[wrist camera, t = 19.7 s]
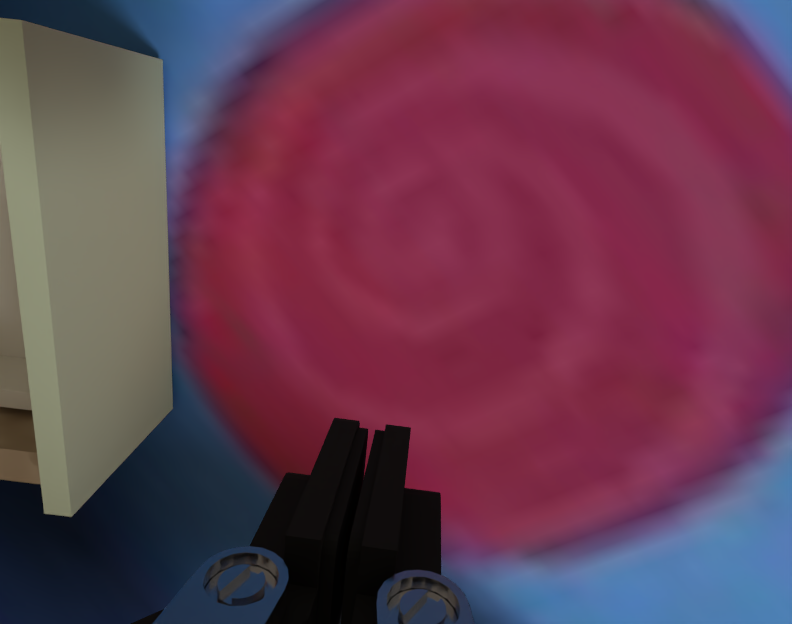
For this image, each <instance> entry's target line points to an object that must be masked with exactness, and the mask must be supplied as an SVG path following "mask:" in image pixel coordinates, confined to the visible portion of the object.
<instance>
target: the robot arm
mask: <svg viewBox="0 0 792 624" xmlns="http://www.w3.org/2000/svg"><path fill="white" fill-rule="evenodd" d="M359 424H360V423H359V421H355V420H347V419H339V418H334V420H333V422H332V424H331V427H330V429H329V432H328V434H327V436H326V439H325V441H324V444H323V446H322V448H321V451H320V453H319V456H318V458H317V461H316V463H315V465H314V468H313V470H312V473H311V475H303V474H296V473H286V475H285V476H284V478H283V480H282V482H281V484H280V486H279V488H278V490H277V492H276V494H275V496H274V498H273V500H272V502H271V504H270V506H269V508H268V510H267V512H266V514H265V516H264V518H263V520H262V522H261V524H260V526H259V528H258V530H257V532H256V534H255V536H254V538H253V540H252V542H251V544H250V546H244V547H234V548H231V549H227V550H224V551H221V552H219V553H217V554H215V555H214V556H212V557H210V558H209V559H207V560H206V561H205V562H204V563H203V564H202V565H201V566H200V567H199V568H198V569H197V570H196V572H195V573H194V574H193V575H192V576H191V578H190V579H189V580H188V581H187V583H186V584H185V585H184V586H183V587H182V589H181V590H180V591H179V592H178V593H177V595H176V596H175V597H174V598H173V599H172V601H171V602H170V603H169V604H168V605H167V607H166V608H165V609H163V610H161V611H159V612H156V613H154V614H152V615H150V616H147V617H145V618H143V619H140V620H138V621H136V622H133V623H131V624H340V622H341V624H474V621H473V617H472V613H471V609H470V605H469V603H468V601H467V598H466V596H465V594H464V593H463V592H462V590H461V589H460V588H459V587H458V586H457V585H456V584H455V583H453V582H452V581H450V580H449V579H448V578H446V577H444V576H442V575H441V495H440V493H438V492H431V491H423V490H416V489H408V488H404V486H405V477H406V468H407V458H408V449H409V440H410V430H411V428H409V427H402V426H394V425H386V428H385V431H381V430H375V434H374V439H373V443H372V447H371V451H370V455H369V459H368V464H367V468H366V472H365V476H364V469H365V459H366V449H367V438H368V429H365V428H359ZM363 479H364V480H363Z"/></svg>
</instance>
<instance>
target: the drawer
mask: <svg viewBox="0 0 792 624" xmlns="http://www.w3.org/2000/svg"><path fill="white" fill-rule="evenodd" d="M0 407H7V408H16V409H24V410H32V415H33V423H34V431H35V440H36V448H37V457H38V465H39V473H40V482H41V490H42V499H43V507H44V514H52V515H60V516H68V517H72V516H73V515H74V514H75V513H76V512H77V511H78V510H79V509H80V507H81V506H82V505H83V504H84V503H85V502H86V501H87V500H88V499H89V498H90V497H91V496H92V495H93V494H94V492H95V491H96V490H97V489H98V488H99V487H100V486H101V485H102V484H103V483H104V482H105V481H106V480H107V479H108V478H109V476H110V475H111V474H112V473H113V472H114V471H115V470H116V469H117V468H118V467H119V466H120V465H121V464H122V463H123V461H124V460H125V459H126V458H127V457H128V456H129V455H130V454H131V453H132V452H133V451H134V450H135V449H136V448H137V446H138V445H139V444H140V443H141V442H142V441H143V440H144V439H145V438H146V437H147V436H148V435H149V434H150V433H151V432H152V430H153V429H154V428H155V427H156V426H157V425H158V424H159V423H160V422H161V421H162V420H163V419H164V418H165V417H166V415H167V414H168V413H169V412H170V411H171V410H172V409H173V393H172V360H171V327H170V293H169V260H168V227H167V193H166V160H165V127H164V93H163V60H162V59H158V58H155V57H151V56H148V55H144V54H140V53H137V52H133V51H130V50H126V49H123V48H119V47H116V46H112V45H108V44H105V43H101V42H98V41H94V40H91V39H87V38H84V37H80V36H76V35H73V34H69V33H66V32H62V31H59V30H55V29H52V28H48V27H44V26H41V25H37V24H34V23H30V22H27V21H23V20H16V19H6V18H0Z"/></svg>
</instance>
